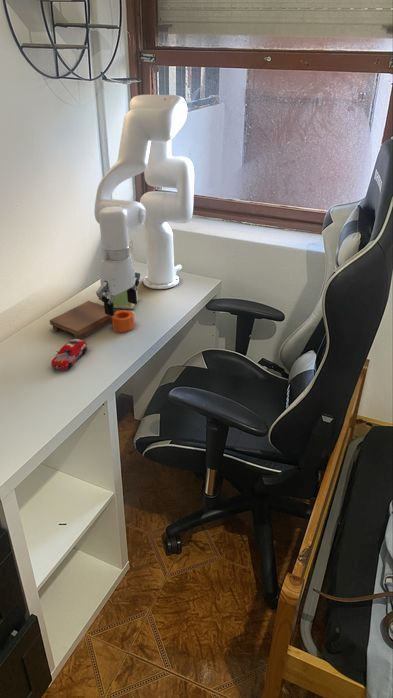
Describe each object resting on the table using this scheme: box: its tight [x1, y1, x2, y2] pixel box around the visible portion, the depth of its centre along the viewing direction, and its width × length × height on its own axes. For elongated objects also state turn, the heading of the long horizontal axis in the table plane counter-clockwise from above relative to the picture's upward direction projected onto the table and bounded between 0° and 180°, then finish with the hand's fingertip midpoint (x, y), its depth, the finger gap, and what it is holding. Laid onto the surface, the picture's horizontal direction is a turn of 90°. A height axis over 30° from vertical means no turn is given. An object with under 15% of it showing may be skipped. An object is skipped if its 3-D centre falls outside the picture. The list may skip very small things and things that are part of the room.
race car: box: [50, 338, 88, 371], centre depth 142 cm, size 13×5×4 cm, turn 161°
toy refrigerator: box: [107, 239, 139, 310], centre depth 166 cm, size 8×7×21 cm
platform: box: [49, 300, 117, 340], centre depth 159 cm, size 16×12×4 cm
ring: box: [111, 309, 136, 333], centre depth 157 cm, size 6×6×4 cm
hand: (121, 308), depth 155 cm, fingers open, 9 cm apart
